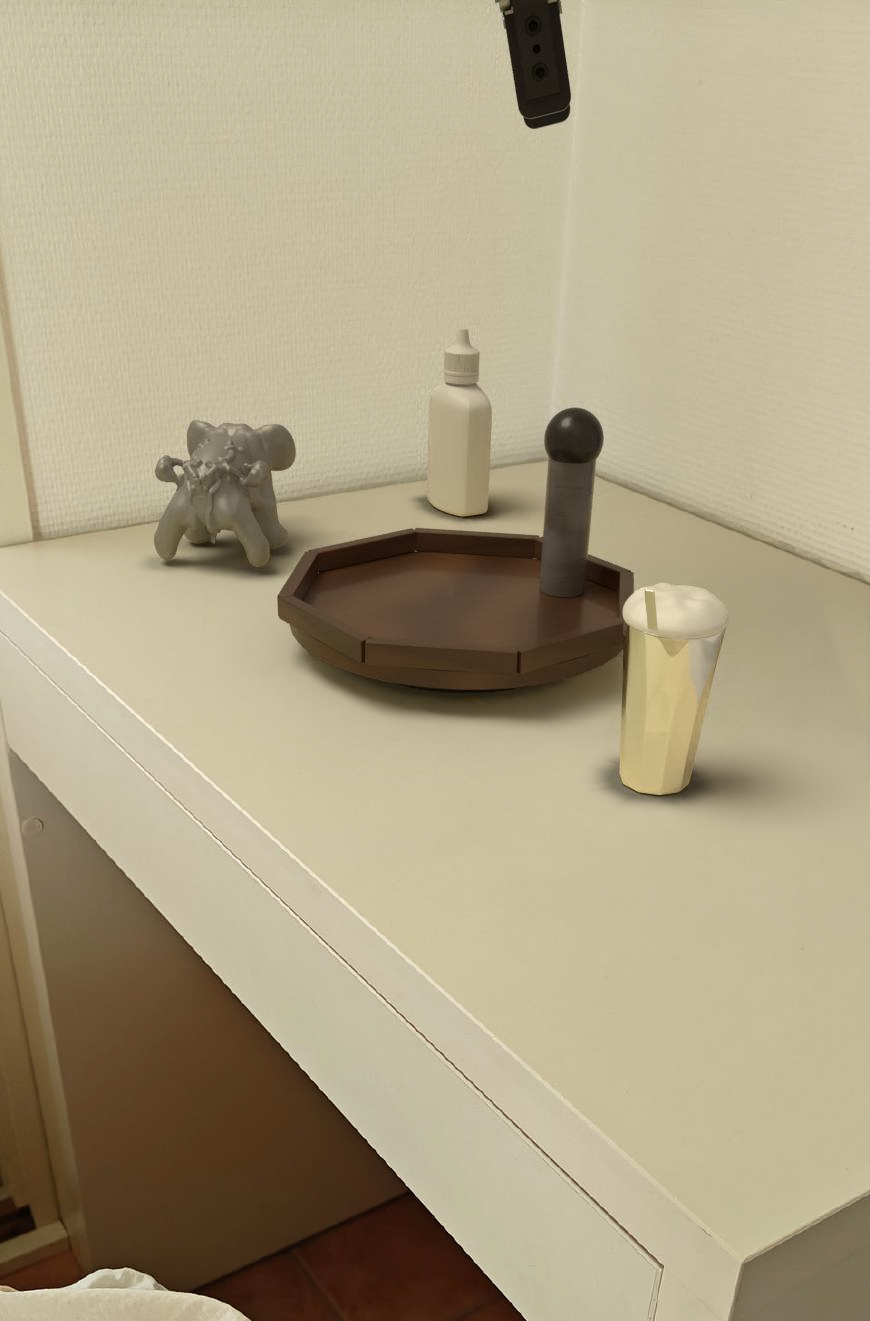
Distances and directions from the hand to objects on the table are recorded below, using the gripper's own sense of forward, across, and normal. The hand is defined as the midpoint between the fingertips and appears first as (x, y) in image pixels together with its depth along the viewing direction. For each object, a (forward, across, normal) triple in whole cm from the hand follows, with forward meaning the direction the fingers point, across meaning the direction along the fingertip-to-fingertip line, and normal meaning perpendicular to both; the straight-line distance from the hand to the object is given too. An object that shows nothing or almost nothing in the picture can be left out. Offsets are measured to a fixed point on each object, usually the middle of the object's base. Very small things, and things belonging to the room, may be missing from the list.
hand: (547, 120), depth 60 cm
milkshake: (+28, -11, 0) cm, 30 cm away
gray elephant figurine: (+19, +20, +25) cm, 37 cm away
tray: (+22, +5, +9) cm, 25 cm away
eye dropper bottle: (+21, +32, +11) cm, 40 cm away
